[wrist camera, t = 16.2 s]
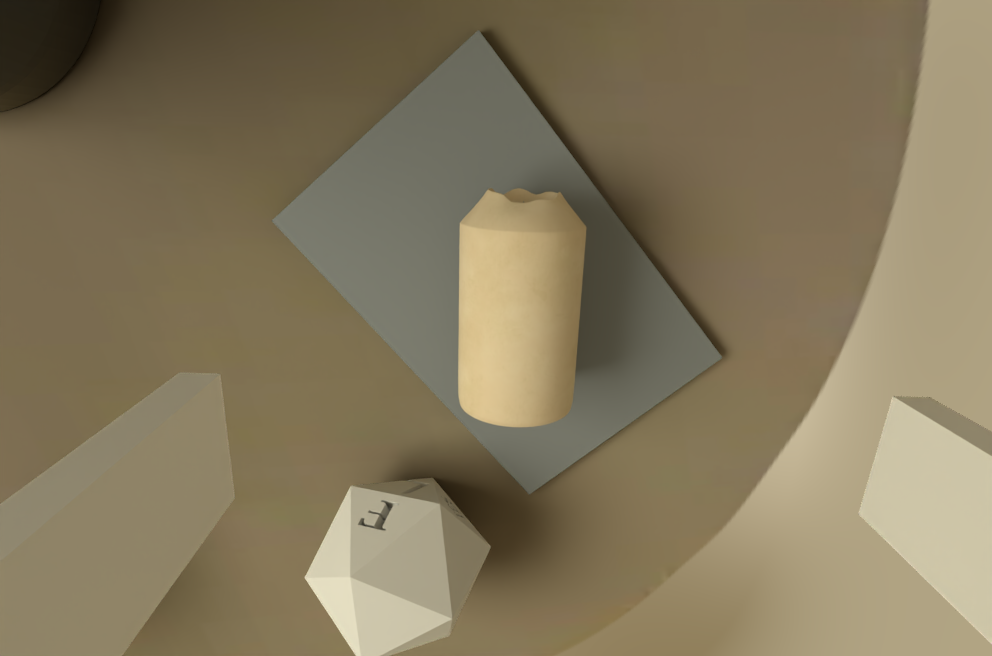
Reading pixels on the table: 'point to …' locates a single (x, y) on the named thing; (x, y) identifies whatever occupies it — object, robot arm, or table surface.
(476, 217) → the candle
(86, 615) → the robot arm
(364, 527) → the die
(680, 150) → the table surface
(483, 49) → the mat
